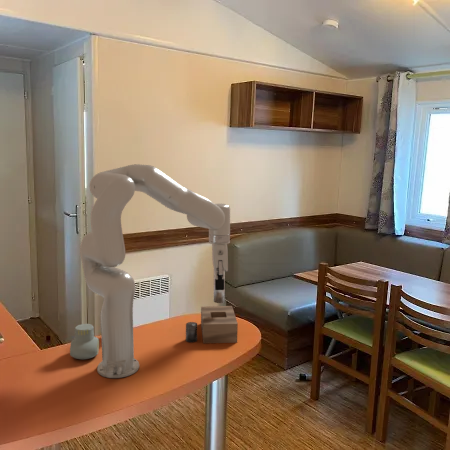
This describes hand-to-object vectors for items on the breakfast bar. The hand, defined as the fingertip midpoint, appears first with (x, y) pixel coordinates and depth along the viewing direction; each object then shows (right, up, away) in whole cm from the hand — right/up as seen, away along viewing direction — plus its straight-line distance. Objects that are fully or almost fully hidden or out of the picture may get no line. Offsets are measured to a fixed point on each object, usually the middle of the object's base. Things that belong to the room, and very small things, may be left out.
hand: (219, 287), depth 171 cm
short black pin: (-10, -18, -4) cm, 21 cm away
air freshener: (-44, -20, -17) cm, 51 cm away
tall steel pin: (0, -5, +1) cm, 5 cm away
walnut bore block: (0, -17, +3) cm, 17 cm away
